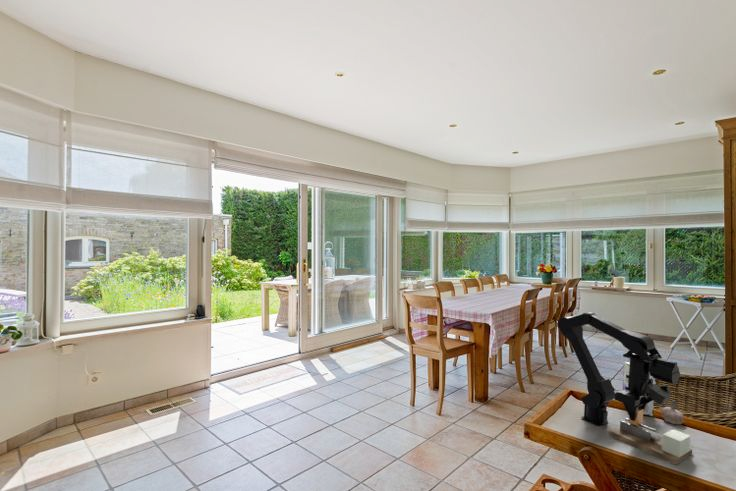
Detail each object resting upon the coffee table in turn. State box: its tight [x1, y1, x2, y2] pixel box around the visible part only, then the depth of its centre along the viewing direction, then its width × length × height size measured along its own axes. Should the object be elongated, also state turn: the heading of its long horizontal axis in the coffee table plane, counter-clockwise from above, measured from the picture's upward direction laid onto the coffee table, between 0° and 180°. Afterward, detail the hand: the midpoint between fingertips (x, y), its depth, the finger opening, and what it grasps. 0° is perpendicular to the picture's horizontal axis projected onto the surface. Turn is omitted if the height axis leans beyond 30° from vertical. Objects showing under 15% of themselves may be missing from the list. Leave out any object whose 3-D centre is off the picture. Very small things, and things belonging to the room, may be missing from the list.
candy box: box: [622, 361, 657, 417], centre depth 154 cm, size 14×6×16 cm, turn 168°
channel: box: [619, 417, 657, 442], centre depth 130 cm, size 9×4×3 cm, turn 31°
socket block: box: [662, 428, 691, 457], centre depth 121 cm, size 4×7×5 cm, turn 121°
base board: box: [608, 425, 693, 465], centre depth 127 cm, size 19×12×2 cm, turn 31°
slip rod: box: [624, 407, 662, 442], centre depth 129 cm, size 10×4×8 cm, turn 31°
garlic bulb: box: [661, 399, 685, 425], centre depth 144 cm, size 8×7×8 cm
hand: (635, 418), depth 131 cm, fingers closed on slip rod, 4 cm apart
